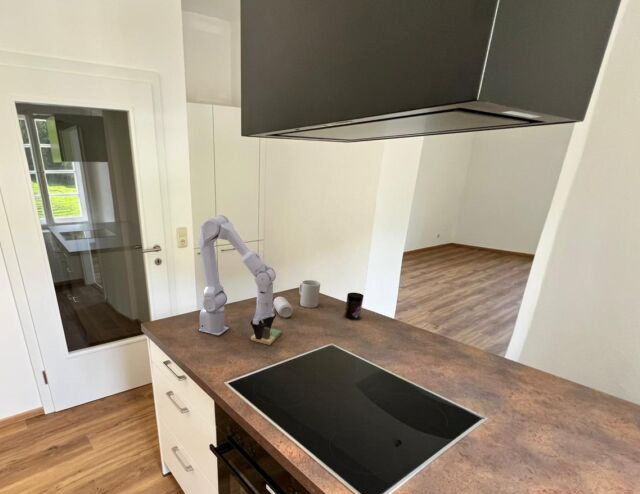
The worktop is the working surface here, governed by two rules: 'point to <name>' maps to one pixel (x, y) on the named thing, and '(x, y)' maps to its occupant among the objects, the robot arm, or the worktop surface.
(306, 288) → the mug
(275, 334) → the notch pad
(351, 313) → the supplement container
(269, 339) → the tab pad
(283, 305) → the beverage can
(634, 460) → the worktop surface
